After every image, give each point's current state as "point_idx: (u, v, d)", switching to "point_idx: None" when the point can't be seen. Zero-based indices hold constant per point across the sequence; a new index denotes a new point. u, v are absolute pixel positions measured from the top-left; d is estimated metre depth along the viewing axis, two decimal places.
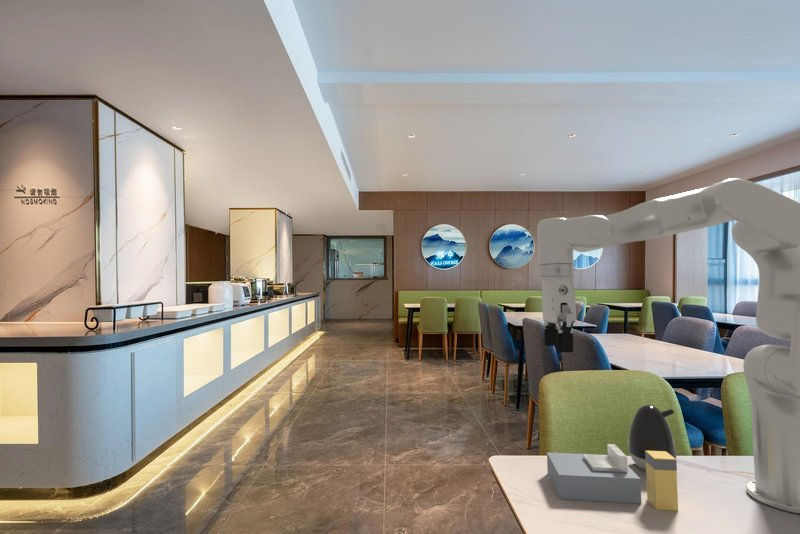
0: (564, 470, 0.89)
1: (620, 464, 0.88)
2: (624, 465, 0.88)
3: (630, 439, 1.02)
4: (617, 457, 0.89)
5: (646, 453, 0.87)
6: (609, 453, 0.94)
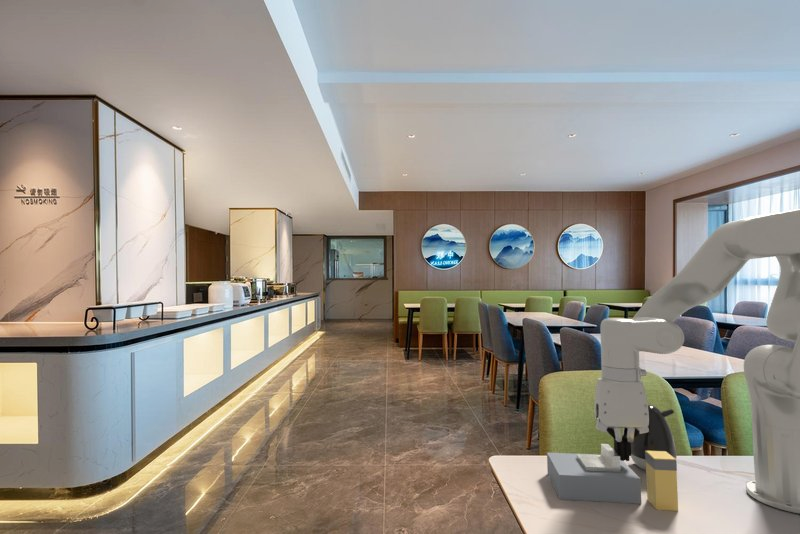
0: (564, 470, 0.89)
1: (613, 464, 0.88)
2: (617, 465, 0.88)
3: None
4: (610, 457, 0.90)
5: (646, 453, 0.87)
6: (602, 453, 0.94)
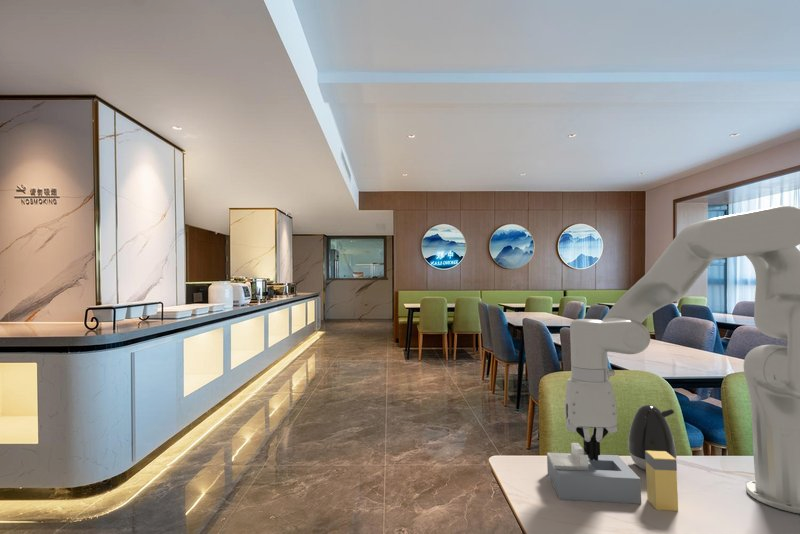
0: (564, 470, 0.89)
1: (581, 462, 0.89)
2: (585, 463, 0.89)
3: (630, 439, 1.02)
4: (578, 456, 0.90)
5: (646, 453, 0.87)
6: (572, 452, 0.95)
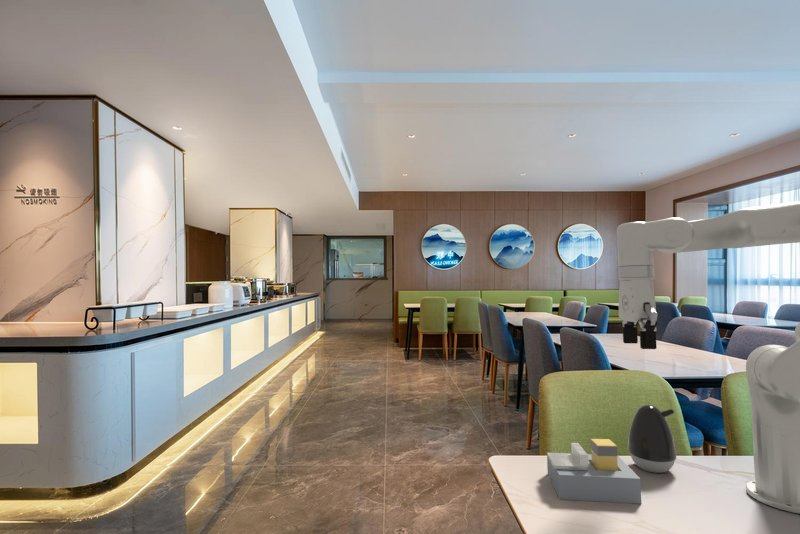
0: (564, 470, 0.89)
1: (581, 462, 0.89)
2: (585, 463, 0.89)
3: (630, 439, 1.02)
4: (578, 456, 0.90)
5: (591, 441, 0.94)
6: (572, 452, 0.95)
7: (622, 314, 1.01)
